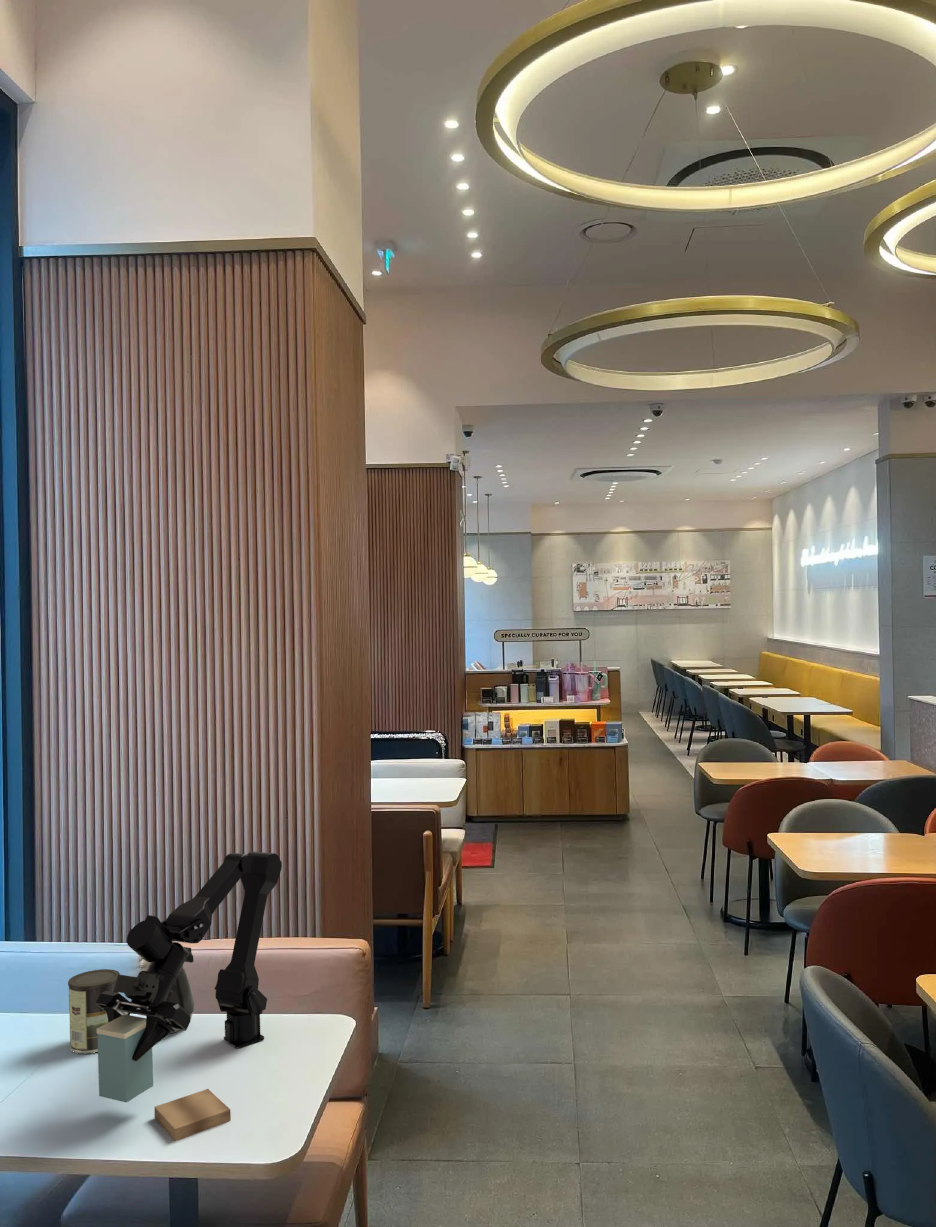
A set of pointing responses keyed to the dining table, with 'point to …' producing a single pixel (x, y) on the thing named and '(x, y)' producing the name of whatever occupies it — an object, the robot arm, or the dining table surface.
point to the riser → (192, 1114)
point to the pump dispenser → (182, 993)
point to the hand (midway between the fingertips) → (119, 1057)
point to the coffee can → (88, 1007)
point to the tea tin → (123, 1059)
